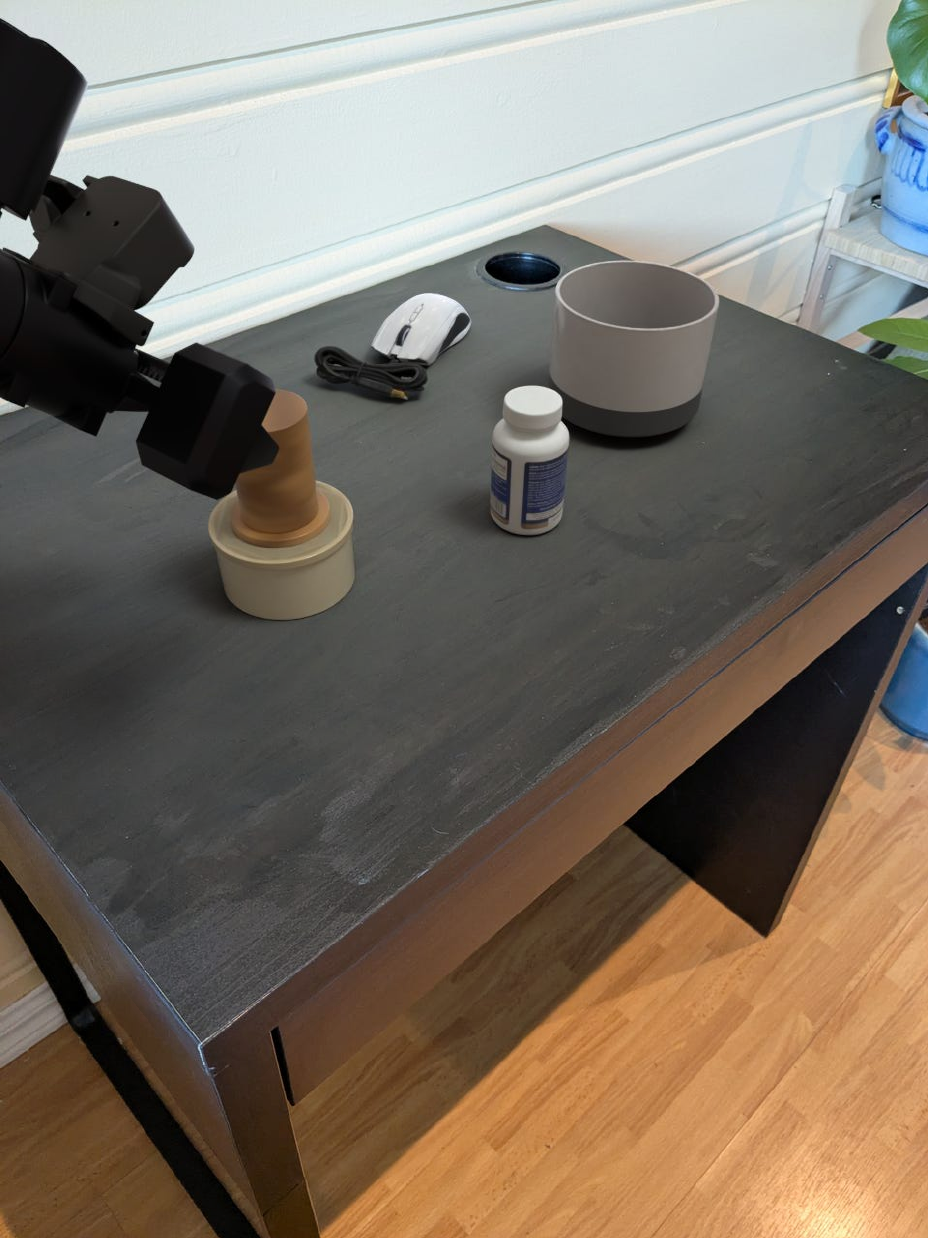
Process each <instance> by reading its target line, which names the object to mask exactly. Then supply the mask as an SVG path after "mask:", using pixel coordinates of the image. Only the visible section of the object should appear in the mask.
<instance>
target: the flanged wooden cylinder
mask: <svg viewBox="0 0 928 1238" xmlns="http://www.w3.org/2000/svg"><path fill="white" fill-rule="evenodd" d="M275 392H276V394H275V396H274V398H273V400H272V403H271V405H270V407H269V409H268V412H267V414H266V416H265V418H264V420H263V423H262V426H263V427H264V428H265V429H266V431H267V432H268V433H269V434H270V436H271V437H272V438H273V439H274V440H275V442H276V443H277V444H278V445H279V452H278V454H277V456H276V458H275V460H274V462H273V464H272V465H269V466H266V467H262V468H259V469H255V470H252V471H248V472H245V473H241V474H239V476H238V478H237V480H236V483H235V485H234V486H235V490H236V491H237V496H238V500H237V501H236V502H235V504H234V505H233V507H232V510H231V513H230V519H231V525H232V528H233V530H234V532H235V533H236V534H237V535H238V536H239V537H240V538H241V539H242V540H244V541H246V542H248V543H250V544H253V545H256V546H261V547H268V548H281V547H289V546H294V545H298V544H301V543H304V542H306V541H308V540H310V539H312V538H314V537H315V536H317V535H318V534H319V533H321V532H322V531H323V530H324V529H325V527H326V526H327V524H328V522H329V519H330V506H329V503H328V500H327V499H326V497H325V496H324V495H323V494H322V493H321V492H319V491H318V490H317V488H316V481H317V479H316V472H315V462H314V454H313V446H312V436H311V428H310V420H309V419H310V418H309V411H308V404H307V403H306V401H305V400H304V399H303V397H301V396H300V395H298V394H297V393H295V392H292V391H288V390H283V389H276V388H275Z"/></svg>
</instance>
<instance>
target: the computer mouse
mask: <svg viewBox="0 0 928 1238" xmlns="http://www.w3.org/2000/svg"><path fill="white" fill-rule="evenodd" d="M471 325H472V319H471V317H470V315H469V314H468V312H467V310H466V309H465V308H464V307H463V305H461V303H459V302H458V301H457V300H455V299H453V298H451V297H449V296H446V295H442V294H439V293H431V292H430V293H429V292H427V293H420V294H417V295H414V296H412V297H411V298H409V299H407V300H406V301H404V302H403V303H402V304H400V305H399V306H398V307H397V308H396V309H395V310H394V311H392V312H391V314H389V315H388V316H387V317H386V318H385V319H384V320H383V322H382V324H381V325H380V327H379V328H378V331H377V332H376V333H375V335H374V338H373V340H372V342H371V344H370V348H371V349H373V350H374V351H375V352H376V353H379V354H381V355H382V356H385V357H387V358H388V359H390V361H389V363H380V364H379V363H376V364H374V363H368V362H367V361H365V360H364V361H362V360H360V359H358V358H357V357H355V356H353V355H352V354H350V353H349V352H347V351H346V350H344V349H342V348H340V347H339V346H334V345H326V346H323V347H320V348H319V349H317V350H316V352H315V354H314V358H313V360H314V363H315V365H316V369H315V370H316V371H315V373H316V375H317V377H319V378H321V379H322V380H325V381H327V382H328V383H330V384H333V385H340V384H347V383H349V384H350V385H351V386H353V385H354V386H355V387H358V388H361V389H364V390H368V391H370V392H373V393H375V394H379V395H383V396H386V397H389V398H393V399H394V398H399V399H402V400H404V401H408V398H409V394H408V392H406V391H414V392H415V391H416V392H423V391H424V390H425V387H424V386H425V385H426V384H427V382H428V380H429V379H428V378H429V377H428V371H427V369H425V368H424V367H423V366H430V365H432V364H433V363H434V362H435V361H436V359H437V358H438V357H439V356H440V355H441V354H442V353H444V351H446V350H447V349H448V348H450V347H452V346H454V345H455V344H457V343H459V342H460V341H461V340H462V339H463V338H464V337H465V336H466V335H467V333H468V332H469V330H470V328H471ZM406 378H407V379H406Z"/></svg>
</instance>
